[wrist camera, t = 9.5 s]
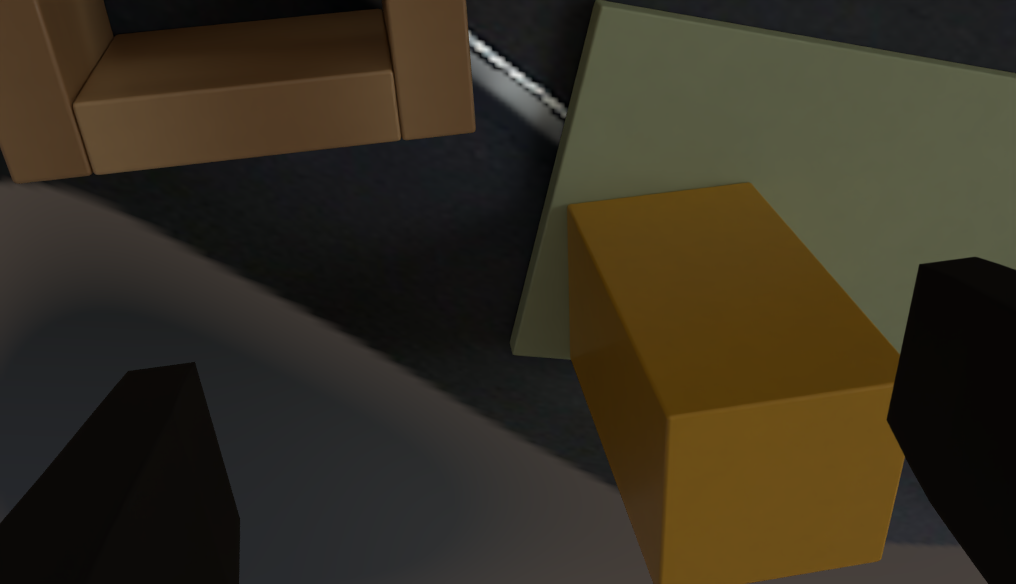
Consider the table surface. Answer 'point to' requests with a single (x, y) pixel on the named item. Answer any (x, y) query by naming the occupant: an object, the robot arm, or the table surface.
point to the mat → (783, 152)
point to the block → (730, 387)
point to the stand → (223, 86)
